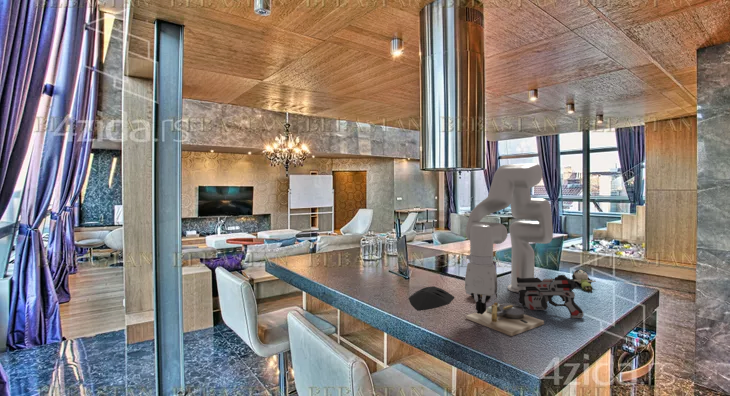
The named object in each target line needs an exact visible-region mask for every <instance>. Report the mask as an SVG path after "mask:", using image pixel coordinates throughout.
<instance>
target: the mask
mask: <svg viewBox="0 0 730 396" xmlns="http://www.w3.org/2000/svg"><path fill="white" fill-rule="evenodd" d="M455 298H456V297H455V296H454V295H452V294H450V293H449V292H448V291H446V290H444V289H442V288H440V287H436V286H428V287H423V288H421V289H418V290H417V291H415V292H414V293H413V294H411V295H410V296H408V300H409V301H408V302H409V303H410V305H411V306H412V307H413V308H414V310H416V311H417V312H420V311H421V310H422V311H427V310H432V309H436V308H440V307H444V306H448V305H450V304H451V303H452V302H453V300H455Z"/></svg>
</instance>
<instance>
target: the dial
mask: <svg viewBox="0 0 730 396" xmlns="http://www.w3.org/2000/svg"><path fill="white" fill-rule="evenodd" d="M499 304H500V305H499V312H497V305H494V304H492V305H491V306H492V321H497V317H499V316H503V317H506V318H510V319H521V318H523V317H524V314H525V308H524V306H523V305H520V304H517V303H509V302H508V303H507V302H506V303H499Z"/></svg>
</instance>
